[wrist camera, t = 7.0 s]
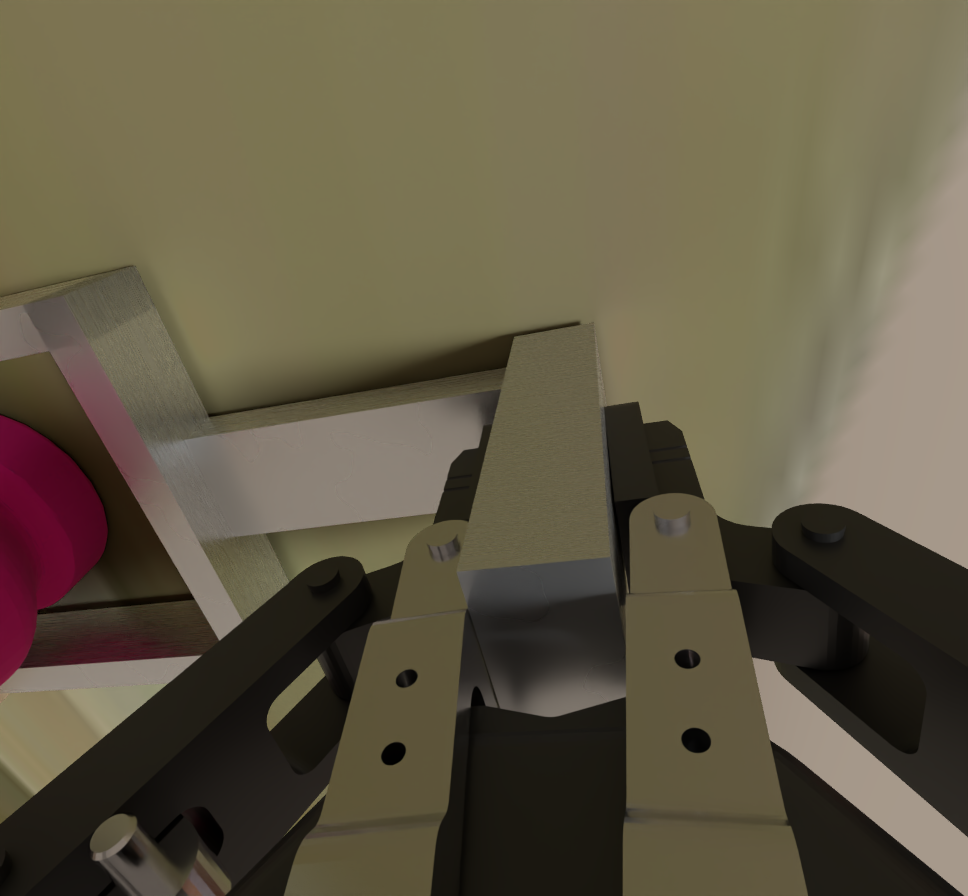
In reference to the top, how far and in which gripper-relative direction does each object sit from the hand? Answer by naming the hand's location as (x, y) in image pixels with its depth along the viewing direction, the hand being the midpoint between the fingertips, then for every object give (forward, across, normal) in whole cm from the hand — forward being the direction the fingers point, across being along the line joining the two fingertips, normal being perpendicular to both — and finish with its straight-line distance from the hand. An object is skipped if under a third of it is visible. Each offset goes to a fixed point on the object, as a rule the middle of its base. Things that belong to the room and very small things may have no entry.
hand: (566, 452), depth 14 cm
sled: (+2, +10, 0) cm, 10 cm away
